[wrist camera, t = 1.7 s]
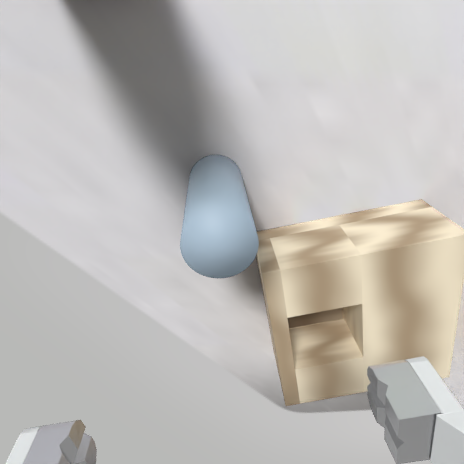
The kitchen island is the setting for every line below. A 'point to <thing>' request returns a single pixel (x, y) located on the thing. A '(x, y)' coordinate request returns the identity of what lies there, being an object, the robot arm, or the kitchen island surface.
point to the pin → (218, 220)
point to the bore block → (360, 296)
